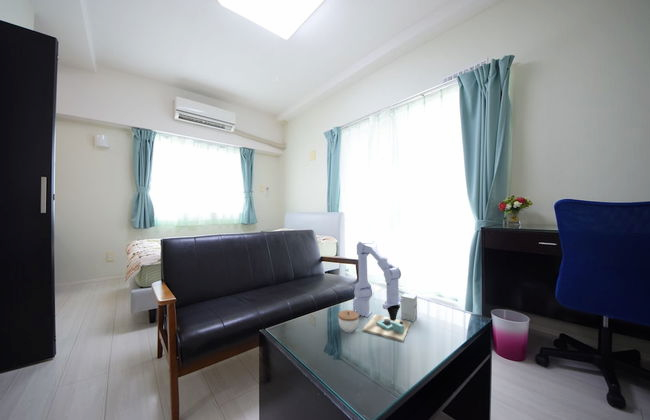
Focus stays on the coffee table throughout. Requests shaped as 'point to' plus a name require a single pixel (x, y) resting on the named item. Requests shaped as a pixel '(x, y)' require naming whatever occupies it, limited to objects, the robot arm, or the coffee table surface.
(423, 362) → the coffee table surface
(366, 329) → the board
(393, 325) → the angular block
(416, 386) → the coffee table surface
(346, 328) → the lidded jar
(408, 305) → the supplement box
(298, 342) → the coffee table surface
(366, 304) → the robot arm
